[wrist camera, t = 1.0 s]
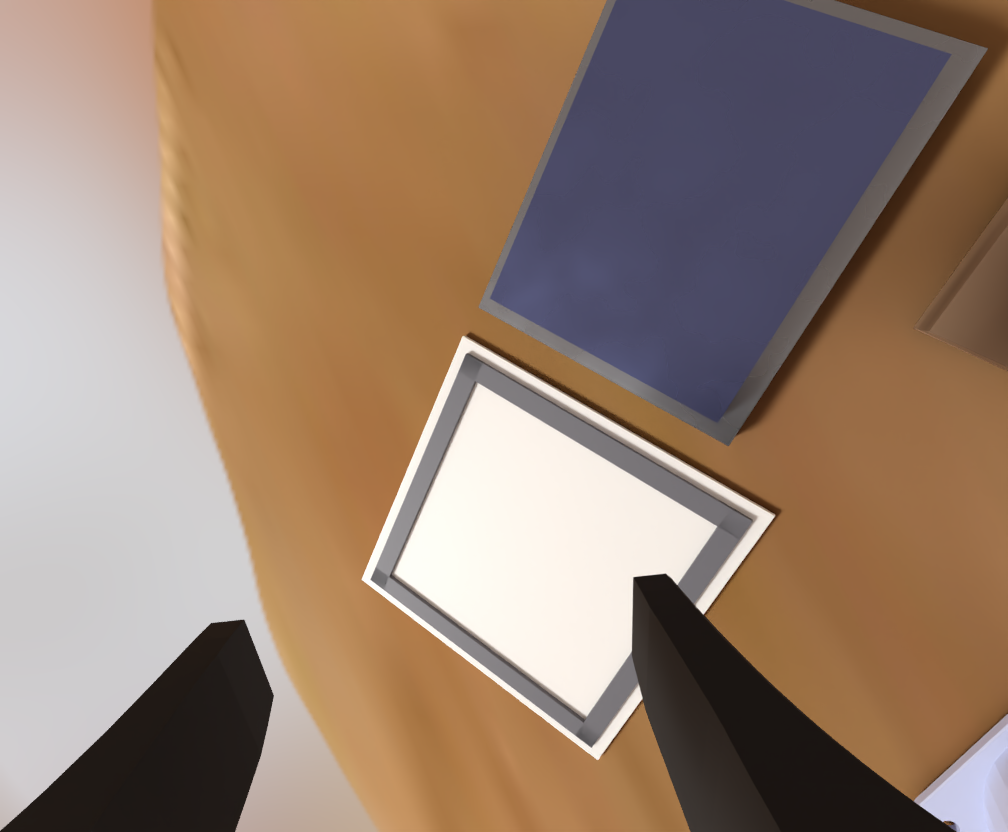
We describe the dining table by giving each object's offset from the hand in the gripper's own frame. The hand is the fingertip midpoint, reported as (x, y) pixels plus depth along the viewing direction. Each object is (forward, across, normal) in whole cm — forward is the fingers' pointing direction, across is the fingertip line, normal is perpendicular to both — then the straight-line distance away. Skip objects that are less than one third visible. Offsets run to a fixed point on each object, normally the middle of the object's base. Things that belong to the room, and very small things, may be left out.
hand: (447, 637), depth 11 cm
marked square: (+11, -2, +7) cm, 13 cm away
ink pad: (+12, -8, -6) cm, 15 cm away
